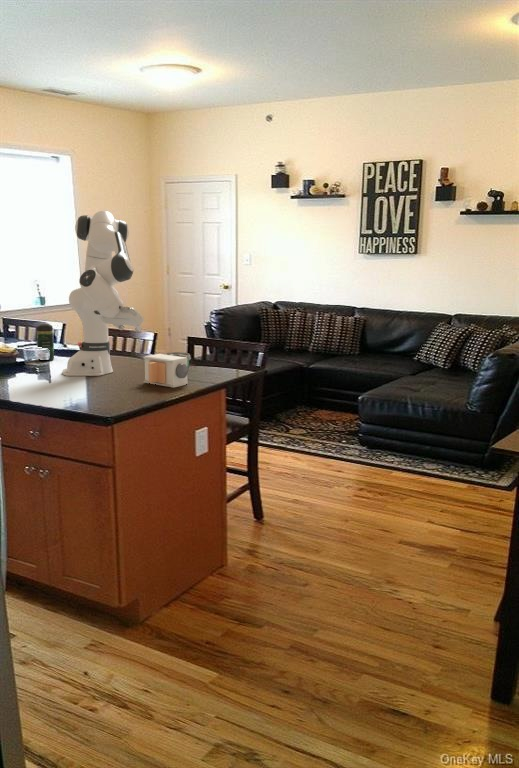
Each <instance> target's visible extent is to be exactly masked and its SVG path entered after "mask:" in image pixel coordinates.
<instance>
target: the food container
mask: <svg viewBox="0 0 519 768" xmlns="http://www.w3.org/2000/svg"><path fill="white" fill-rule="evenodd" d="M165 355H172V356H180V357H187V367H188V370H189V367H190V360H191V359H192V357H191V354H190V353H188V352H182V351H181V352H180V351H175V352H172V351H171V352H167V353H166V354H165ZM187 377H189V373H188V374H187Z"/></svg>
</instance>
